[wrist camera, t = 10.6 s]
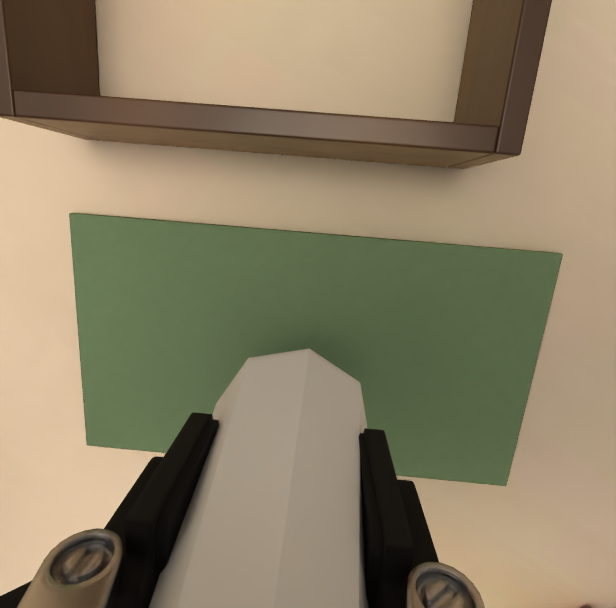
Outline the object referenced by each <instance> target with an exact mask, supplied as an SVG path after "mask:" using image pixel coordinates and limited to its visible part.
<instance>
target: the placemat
mask: <svg viewBox="0 0 616 608" xmlns="http://www.w3.org/2000/svg"><path fill="white" fill-rule="evenodd" d="M69 217H70V230H71V243H72V257H73V270H74V283H75V296H76V309H77V323H78V336H79V349H80V362H81V375H82V388H83V402H84V415H85V428H86V441H87V445H89V446H100V447H110V448H120V449H131V450H141V451H151V452H161V453H167V451H168V449H169V448H170V446H171V445H172V443H173V442H174V440H175V438H176V437H177V435H178V434H179V432H180V431H181V429H182V427H183V426H184V424H185V423H186V421H187V419H188V418H189V416H190V415H191V413H193V412H195V413H206V414H212V415H213V412H214V409H215V406H216V403H217V402H218V400H219V399H220V397H221V396H222V394H223V393H224V392H225V390H226V389H227V387H228V386H229V385H230V383H231V382H232V380H233V379H234V378H235V376H236V375H237V373H238V372H239V370H240V369H241V368H242V366H243V365H244V363H245V362H246V361H247V359H248V358H251V357H257V356H264V355H270V354H277V353H283V352H290V351H296V350H303V349H311V350H312V351H314V352H315V353H317V354H318V355H320V356H321V357H323V358H324V359H326V360H327V361H329V362H330V363H332V364H333V365H335V366H336V367H338V368H339V369H341V370H342V371H344V372H345V373H347V374H348V375H350V376H351V377H353V378H354V379H356V380H357V381H359V382H360V384H361V390H362V397H363V403H364V409H365V415H366V422H367V428H368V429H379V430H384V431H385V435H386V439H387V442H388V446H389V450H390V454H391V458H392V462H393V466H394V469H395V473H396V475H398V476H408V477H419V478H429V479H439V480H449V481H460V482H470V483H480V484H491V485H501V486H506V485H507V481H508V476H509V472H510V468H511V464H512V460H513V456H514V452H515V448H516V444H517V440H518V436H519V431H520V427H521V423H522V419H523V415H524V411H525V407H526V403H527V399H528V395H529V391H530V386H531V382H532V378H533V374H534V370H535V366H536V362H537V358H538V354H539V350H540V346H541V341H542V337H543V333H544V329H545V325H546V321H547V317H548V313H549V309H550V305H551V301H552V296H553V292H554V288H555V284H556V280H557V276H558V272H559V268H560V264H561V260H562V256H563V254H561V253H553V252H541V251H529V250H517V249H505V248H493V247H480V246H468V245H456V244H444V243H432V242H420V241H408V240H396V239H384V238H371V237H359V236H347V235H335V234H323V233H311V232H299V231H287V230H275V229H263V228H250V227H238V226H226V225H214V224H202V223H190V222H178V221H166V220H154V219H141V218H129V217H117V216H105V215H93V214H81V213H70V214H69Z"/></svg>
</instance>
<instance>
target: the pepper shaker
mask: <svg viewBox="0 0 616 608" xmlns="http://www.w3.org/2000/svg"><path fill="white" fill-rule="evenodd" d="M212 416H213V419H215V420H218V421H219V426H218V429H217V432H216V434H215V437H214V440H213V442H212V445H211V448H210V450H209V453H208V456H207V458H206V461H205V464H204V466H203V469H202V472H201V474H200V477H199V480H198V483H197V485H196V488H195V491H194V493H193V496H192V499H191V501H190V504H189V507H188V509H187V512H186V515H185V517H184V520H183V523H182V525H181V528H180V531H179V533H178V536H177V539H176V542H175V544H174V547H173V550H172V552H171V555H170V558H169V560H168V563H167V566H166V567H165V568H164V570H163V571H162V572H161V573H160V575H159V578H158V581H157V584H156V587H155V590H154V593H153V596H152V599H151V602H150V605H149V608H369V606H368V601H367V595H366V578H365V556H364V533H363V511H362V489H361V466H360V447H359V434H360V433H363V432H364V429H365V428H367V422H366V415H365V409H364V403H363V397H362V390H361V384H360V382H359V381H357V380H356V379H354V378H353V377H351V376H350V375H348V374H347V373H345V372H344V371H342V370H341V369H339V368H338V367H336V366H335V365H333V364H332V363H330V362H329V361H327V360H326V359H324V358H323V357H321V356H320V355H318V354H317V353H315V352H314V351H312V350H311V349H303V350H296V351H290V352H283V353H277V354H270V355H264V356H257V357H251V358H248V359H247V361H246V362H245V363H244V365H243V366H242V368H241V369H240V370H239V372H238V373H237V375H236V376H235V378H234V379H233V380H232V382H231V383H230V385H229V386H228V387H227V389H226V390H225V392H224V393H223V394H222V396H221V397H220V399H219V400H218V402H217V403H216V406H215V409H214V412H213V415H212Z"/></svg>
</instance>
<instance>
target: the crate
mask: <svg viewBox="0 0 616 608" xmlns="http://www.w3.org/2000/svg"><path fill="white" fill-rule="evenodd" d="M551 2H552V0H474V1H473V7H472V14H471V20H470V26H469V33H468V39H467V45H466V51H465V58H464V64H463V70H462V76H461V83H460V89H459V95H458V101H457V108H456V114H455V120H454V122H441V121H427V120H414V119H401V118H387V117H374V116H361V115H347V114H334V113H321V112H307V111H294V110H281V109H268V108H254V107H241V106H228V105H214V104H201V103H188V102H174V101H161V100H148V99H134V98H121V97H108V96H99V81H98V62H97V44H96V25H95V6H94V0H0V117H1V118H5V119H9V120H13V121H17V122H20V123H24V124H28V125H32V126H36V127H40V128H43V129H47V130H51V131H55V132H59V133H63V134H66V135H70V136H74V137H78V138H82V139H87V140H102V141H113V142H126V143H139V144H151V145H164V146H177V147H190V148H203V149H216V150H229V151H241V152H254V153H267V154H280V155H293V156H306V157H318V158H331V159H344V160H357V161H370V162H383V163H395V164H408V165H421V166H434V167H449V168H460V169H465V168H469V167H473V166H478V165H482V164H486V163H490V162H494V161H498V160H502V159H506V158H510V157H515V156H518V155H520V154H521V150H522V145H523V140H524V135H525V130H526V125H527V120H528V115H529V110H530V105H531V100H532V96H533V91H534V86H535V81H536V76H537V71H538V66H539V61H540V56H541V51H542V46H543V41H544V37H545V32H546V27H547V22H548V17H549V12H550V7H551Z"/></svg>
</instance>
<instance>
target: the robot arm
mask: <svg viewBox="0 0 616 608" xmlns="http://www.w3.org/2000/svg"><path fill="white" fill-rule="evenodd" d="M218 426H219V421H218V420H215V419H213V416H212V414H206V413H195V412H193V413H191V415H190V416H189V418H188V419H187V421H186V423H185V424H184V426H183V427H182V429H181V431H180V432H179V434H178V435H177V437H176V438H175V440H174V442H173V443H172V445H171V446H170V448H169V449H168V451H167V453H166V454H165V456H164V457H153V458H152V459H151V460H150V462H149V463H148V465H147V466H146V467H145V469H144V470H143V472H142V473H141V475H140V476H139V478H138V479H137V481H136V482H135V484H134V485H133V487H132V488H131V490H130V491H129V493H128V494H127V496H126V497H125V499H124V500H123V501H122V503H121V504H120V506H119V507H118V509H117V510H116V512H115V513H114V515H113V516H112V518H111V519H110V521H109V522H108V524H107V525H106V527H105V528H104V529H91V530H85V531H82V532H79V533H77V534H74V535H72V536H70V537H68V538H67V539H65V540H63V541H62V542H60V543H59V544H58V545H57V546H56V547H55V548H53V549H52V550H51V551H50V553H49V554H48V555H47V557H46V558H45V559H44V561H43V563H42V564H41V566H40V568H39V570H38V571H37V573H36V575H35V577H34V578H33V580H32V581H31V582H29V583H26V584H24V585H22V586H20V587H18V588H16V589H14V590H12V591H10V592H8V593H6V594H4V595H2V596H0V608H149V605H150V602H151V599H152V596H153V593H154V590H155V587H156V584H157V581H158V578H159V575H160V573H161V572H162V571H163V570H164V568H165V567H166V566H167V563H168V560H169V558H170V555H171V552H172V550H173V547H174V544H175V542H176V539H177V536H178V533H179V531H180V528H181V525H182V523H183V520H184V517H185V515H186V512H187V509H188V507H189V504H190V501H191V499H192V496H193V493H194V491H195V488H196V485H197V483H198V480H199V477H200V474H201V472H202V469H203V466H204V464H205V461H206V458H207V456H208V453H209V450H210V448H211V445H212V442H213V440H214V437H215V434H216V432H217V429H218ZM359 447H360V466H361V489H362V511H363V533H364V556H365V578H366V595H367V601H368V606H369V608H485V607H484V603H483V601H482V598H481V595H480V593H479V592H478V590H477V589H476V587H475V586H474V584H473V583H472V582H471V581H470V580H469V579H468V578H467V577H466V576H465V575H464V574H463V573H461V572H460V571H458V570H456V569H455V568H453V567H451V566H448V565H446V564H443V563H439V561H438V557H437V554H436V551H435V548H434V545H433V542H432V538H431V535H430V532H429V529H428V526H427V523H426V519H425V516H424V513H423V510H422V507H421V504H420V500H419V497H418V494H417V491H416V488H415V485H414V483H413V482H412V481H408V480H397V477H396V473H395V469H394V466H393V462H392V458H391V454H390V450H389V446H388V442H387V439H386V435H385V431H384V430H379V429H368V428H365V429H364V432H363V433H360V434H359Z"/></svg>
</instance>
